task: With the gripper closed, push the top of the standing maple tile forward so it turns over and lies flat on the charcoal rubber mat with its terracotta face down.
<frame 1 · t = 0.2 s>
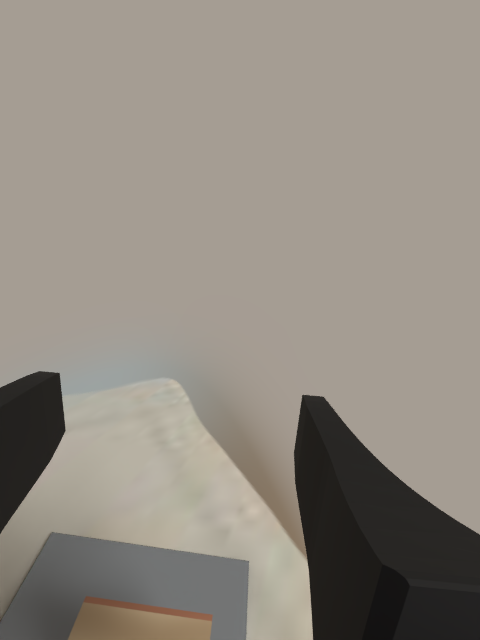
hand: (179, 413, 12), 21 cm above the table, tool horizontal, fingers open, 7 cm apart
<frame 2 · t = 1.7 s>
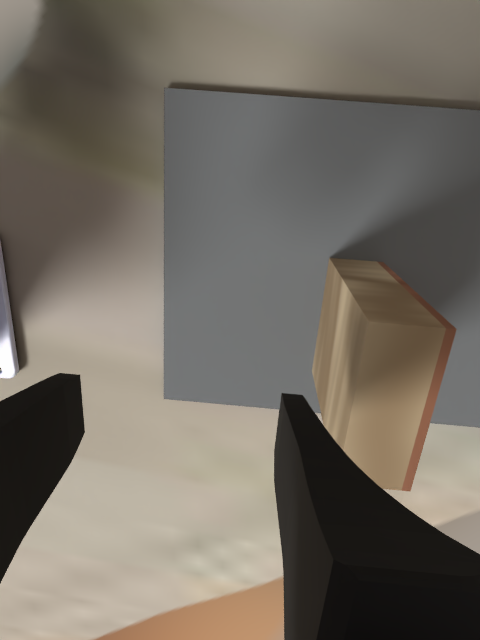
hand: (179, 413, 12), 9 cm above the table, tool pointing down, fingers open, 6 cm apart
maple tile: (345, 319, 21), resting on rubber mat
rubber mat: (371, 279, 20), on the table
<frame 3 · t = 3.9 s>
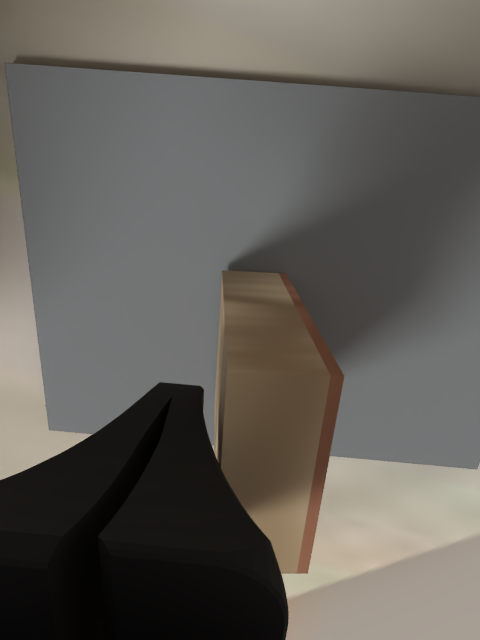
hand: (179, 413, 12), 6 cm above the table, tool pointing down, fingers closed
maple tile: (248, 341, 17), point 1 cm above the table, tilted 6°, touching gripper, rubber mat
rubber mat: (276, 294, 17), on the table
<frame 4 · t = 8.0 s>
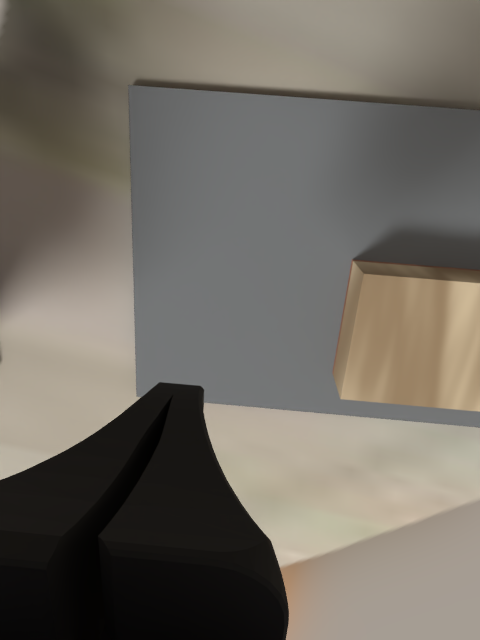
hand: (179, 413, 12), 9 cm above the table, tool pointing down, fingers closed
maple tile: (346, 329, 19), point 2 cm above the table, tilted 90°, touching rubber mat
rubber mat: (340, 277, 20), on the table
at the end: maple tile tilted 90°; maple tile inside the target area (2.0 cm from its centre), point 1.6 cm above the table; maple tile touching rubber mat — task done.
